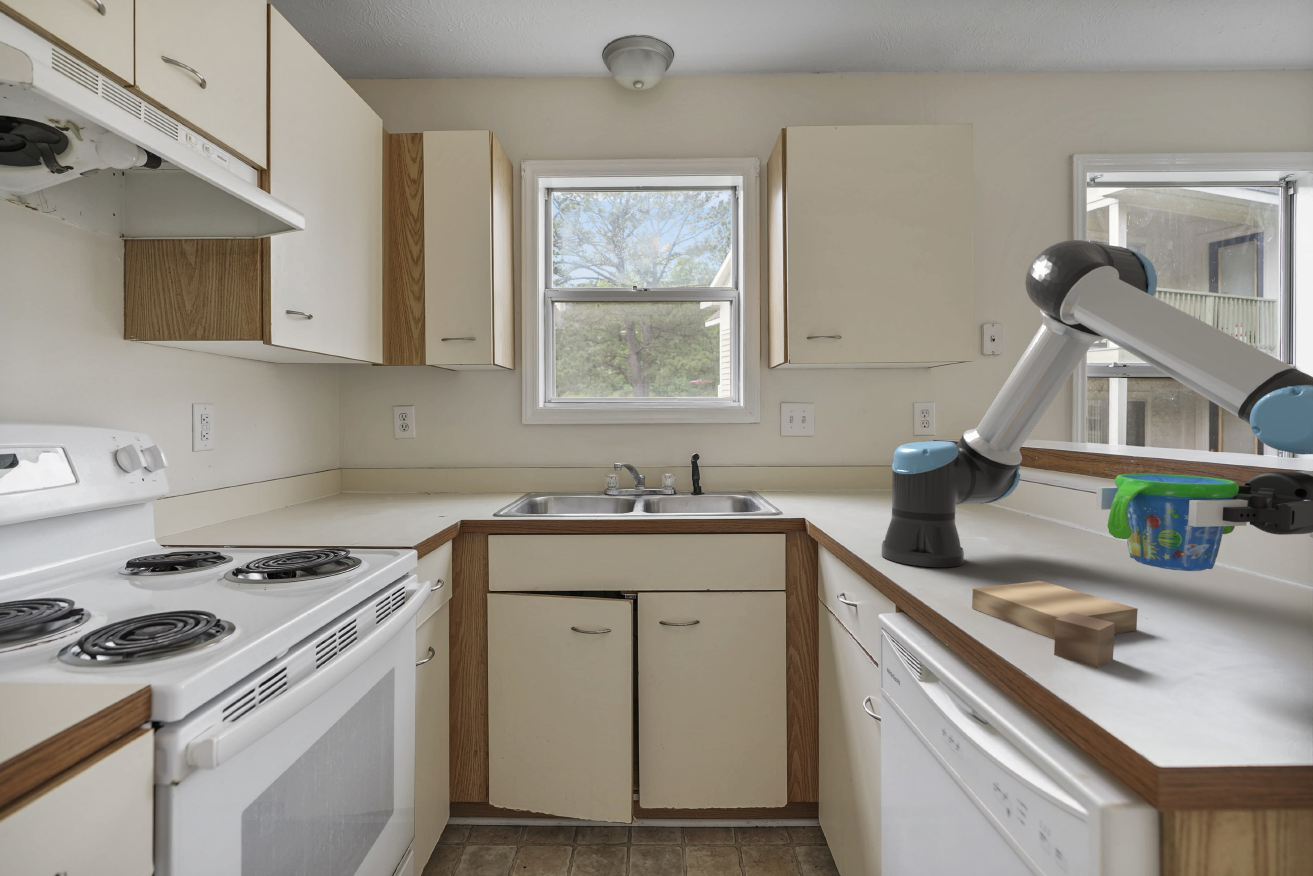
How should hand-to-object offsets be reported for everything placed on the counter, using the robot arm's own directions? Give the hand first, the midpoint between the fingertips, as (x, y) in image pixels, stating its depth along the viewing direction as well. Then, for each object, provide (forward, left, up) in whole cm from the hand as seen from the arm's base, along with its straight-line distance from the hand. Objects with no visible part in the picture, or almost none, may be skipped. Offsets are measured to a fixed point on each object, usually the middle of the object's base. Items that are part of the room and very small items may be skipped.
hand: (1142, 505), depth 69 cm
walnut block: (-4, -3, -19) cm, 20 cm away
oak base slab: (-15, +6, -19) cm, 25 cm away
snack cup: (+1, +4, -7) cm, 8 cm away
